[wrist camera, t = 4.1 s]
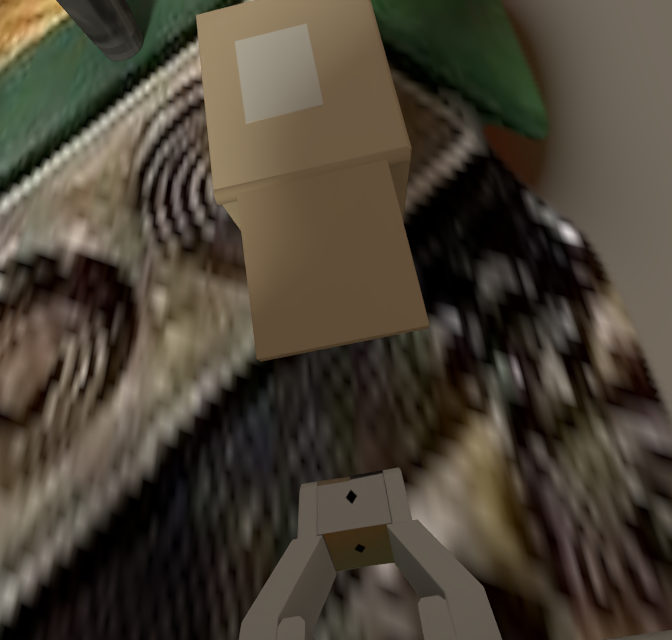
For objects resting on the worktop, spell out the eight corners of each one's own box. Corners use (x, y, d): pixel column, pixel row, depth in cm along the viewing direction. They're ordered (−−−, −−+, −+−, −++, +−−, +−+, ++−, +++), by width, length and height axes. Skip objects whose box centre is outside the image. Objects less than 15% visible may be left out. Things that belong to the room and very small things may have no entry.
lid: (453, 323, 17) (456, 319, 17) (237, 366, 18) (231, 364, 17) (361, -15, 23) (360, -29, 23) (201, 26, 24) (195, 13, 23)
